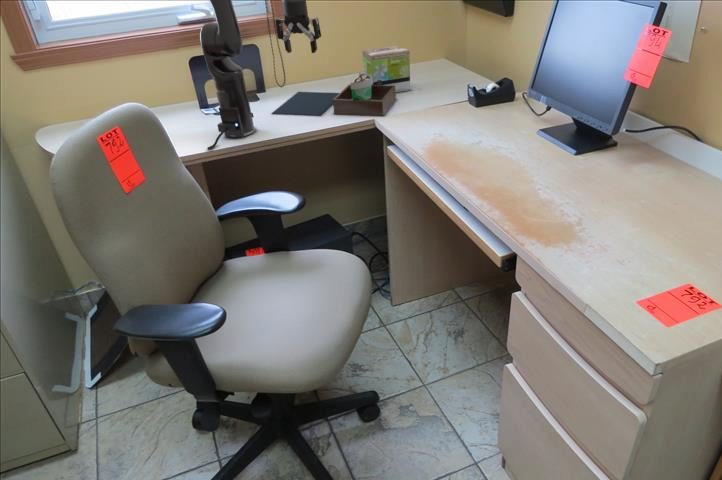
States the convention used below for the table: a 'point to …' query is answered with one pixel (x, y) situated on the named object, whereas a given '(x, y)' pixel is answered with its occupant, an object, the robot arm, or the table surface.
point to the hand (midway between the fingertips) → (301, 52)
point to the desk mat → (307, 104)
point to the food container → (362, 87)
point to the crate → (365, 101)
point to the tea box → (388, 66)
